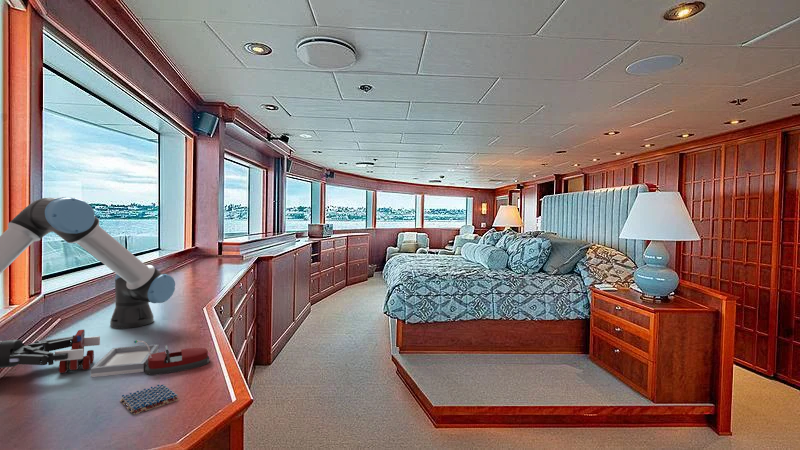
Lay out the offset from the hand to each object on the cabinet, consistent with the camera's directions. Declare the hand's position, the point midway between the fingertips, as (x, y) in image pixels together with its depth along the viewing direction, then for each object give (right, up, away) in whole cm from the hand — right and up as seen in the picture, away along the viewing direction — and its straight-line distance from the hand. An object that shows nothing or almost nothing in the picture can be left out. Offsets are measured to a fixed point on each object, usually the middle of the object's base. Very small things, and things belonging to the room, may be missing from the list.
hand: (91, 346), depth 120 cm
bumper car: (+24, -7, +1) cm, 25 cm away
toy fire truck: (-4, -6, -1) cm, 7 cm away
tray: (+9, -6, +3) cm, 11 cm away
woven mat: (+31, -8, -21) cm, 38 cm away
